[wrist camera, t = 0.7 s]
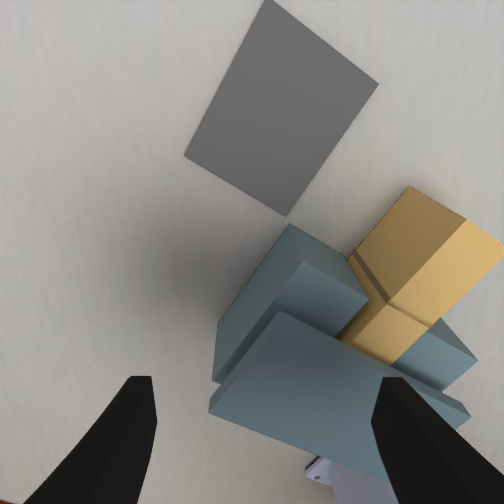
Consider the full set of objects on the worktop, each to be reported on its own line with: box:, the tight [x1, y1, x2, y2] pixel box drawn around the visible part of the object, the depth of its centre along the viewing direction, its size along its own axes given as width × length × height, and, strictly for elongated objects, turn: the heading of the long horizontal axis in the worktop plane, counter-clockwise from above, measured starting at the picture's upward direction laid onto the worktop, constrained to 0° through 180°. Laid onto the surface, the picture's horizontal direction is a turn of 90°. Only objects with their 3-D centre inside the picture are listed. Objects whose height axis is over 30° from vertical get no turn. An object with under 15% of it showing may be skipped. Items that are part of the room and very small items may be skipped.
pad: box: [184, 0, 379, 217], centre depth 16 cm, size 6×7×1 cm
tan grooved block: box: [334, 186, 504, 366], centre depth 17 cm, size 3×9×5 cm, turn 148°
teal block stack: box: [209, 223, 478, 482], centre depth 18 cm, size 11×8×6 cm
